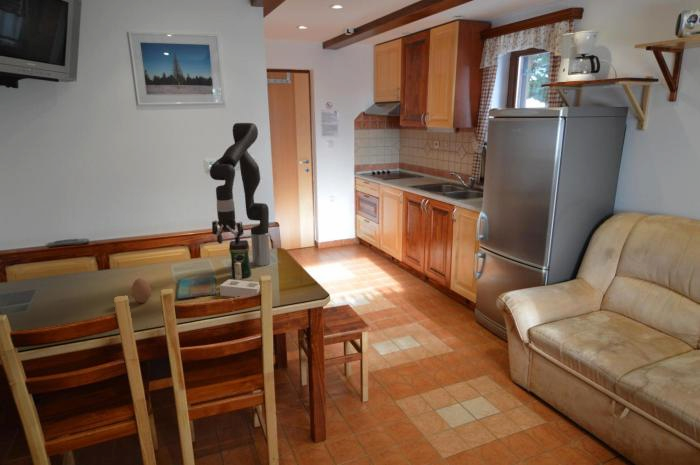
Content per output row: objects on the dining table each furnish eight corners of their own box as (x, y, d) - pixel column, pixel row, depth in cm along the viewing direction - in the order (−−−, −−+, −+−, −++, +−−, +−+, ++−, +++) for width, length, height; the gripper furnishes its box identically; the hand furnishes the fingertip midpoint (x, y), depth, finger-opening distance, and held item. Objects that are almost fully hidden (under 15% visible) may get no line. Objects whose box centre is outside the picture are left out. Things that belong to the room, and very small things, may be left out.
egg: (130, 302, 186) (127, 278, 184) (148, 297, 191) (145, 274, 189) (136, 307, 181) (133, 283, 178) (155, 302, 186) (152, 278, 183)
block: (229, 289, 200) (228, 279, 199) (265, 293, 196) (265, 282, 194) (220, 296, 192) (219, 285, 191) (257, 300, 188) (257, 289, 187)
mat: (234, 279, 212) (234, 278, 212) (253, 281, 210) (253, 280, 210) (224, 287, 203) (223, 286, 203) (243, 289, 200) (243, 288, 200)
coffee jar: (251, 273, 221) (249, 238, 217) (250, 278, 214) (248, 242, 209) (232, 274, 220) (229, 239, 215) (230, 279, 212) (227, 243, 207)
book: (215, 279, 214) (215, 274, 214) (217, 297, 193) (217, 291, 192) (178, 283, 209) (177, 278, 208) (176, 302, 187) (175, 296, 187)
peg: (237, 282, 208) (236, 262, 205) (243, 282, 207) (241, 262, 205) (234, 284, 205) (233, 264, 203) (240, 284, 204) (238, 264, 202)
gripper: (244, 208, 194) (247, 242, 199) (216, 206, 198) (219, 240, 202) (236, 211, 187) (239, 247, 192) (206, 210, 191) (210, 245, 195)
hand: (228, 243), depth 197 cm, fingers open, 8 cm apart
